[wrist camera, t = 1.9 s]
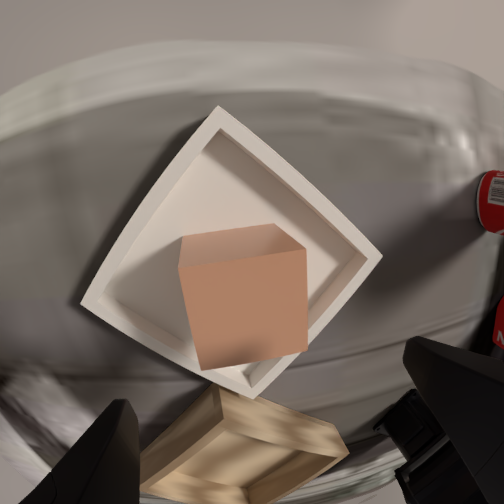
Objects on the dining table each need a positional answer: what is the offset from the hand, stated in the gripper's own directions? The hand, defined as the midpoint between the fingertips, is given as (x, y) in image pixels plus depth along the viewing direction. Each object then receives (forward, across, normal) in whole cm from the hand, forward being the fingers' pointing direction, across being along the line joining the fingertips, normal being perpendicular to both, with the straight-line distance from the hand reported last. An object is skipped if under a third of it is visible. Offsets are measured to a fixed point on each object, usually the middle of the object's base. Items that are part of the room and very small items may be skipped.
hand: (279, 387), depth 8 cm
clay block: (+9, 0, 0) cm, 9 cm away
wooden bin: (+10, +2, +18) cm, 20 cm away
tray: (+10, 0, 0) cm, 10 cm away
